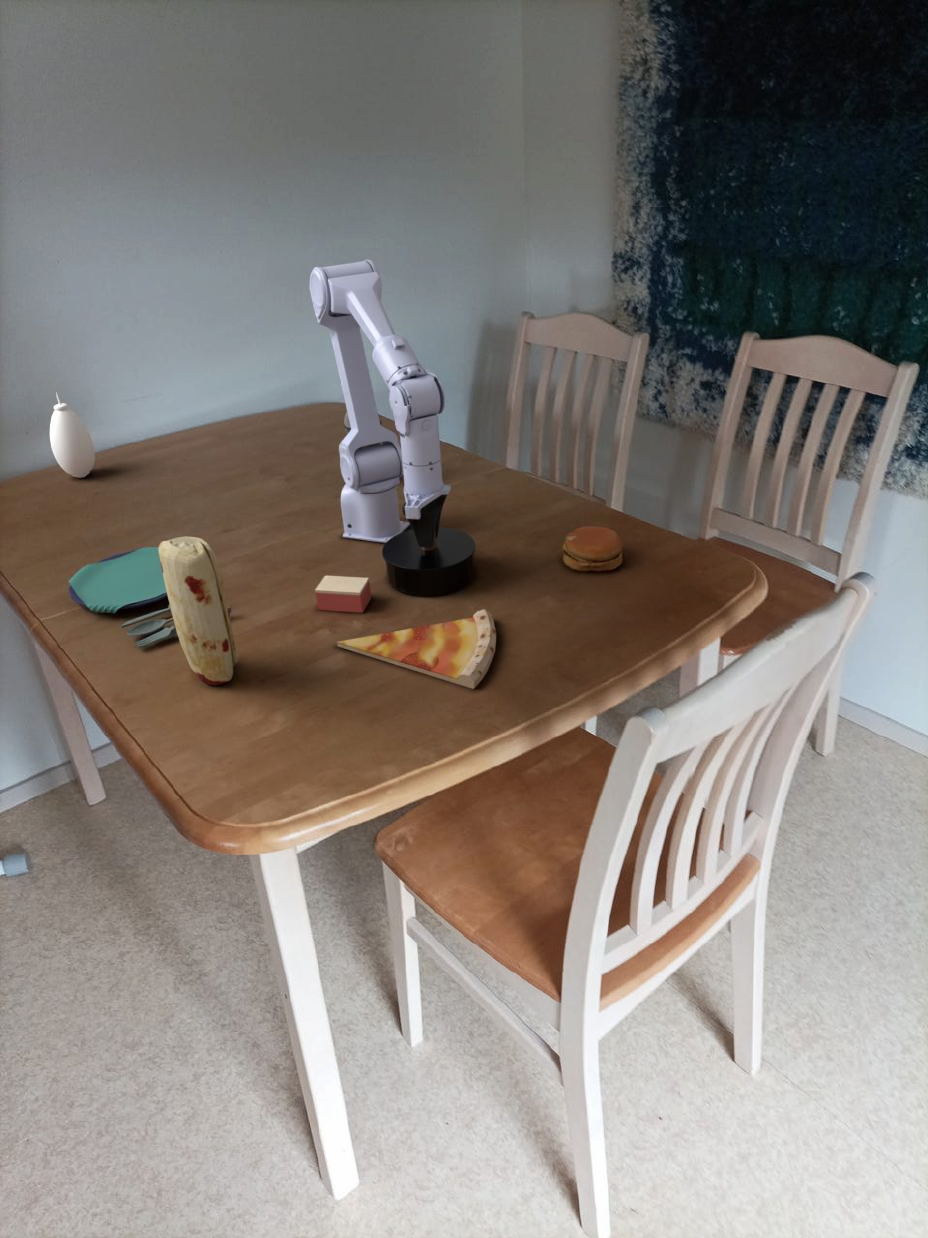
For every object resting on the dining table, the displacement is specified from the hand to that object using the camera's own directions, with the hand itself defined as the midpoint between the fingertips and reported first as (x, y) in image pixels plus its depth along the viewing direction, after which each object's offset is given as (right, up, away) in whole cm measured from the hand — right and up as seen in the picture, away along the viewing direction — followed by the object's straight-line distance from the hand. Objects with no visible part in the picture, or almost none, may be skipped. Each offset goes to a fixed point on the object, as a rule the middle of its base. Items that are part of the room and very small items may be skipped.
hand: (428, 542), depth 136 cm
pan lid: (0, -1, +1) cm, 1 cm away
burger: (+26, -3, +5) cm, 27 cm away
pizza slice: (+1, -15, -13) cm, 20 cm away
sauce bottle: (-75, +18, +48) cm, 91 cm away
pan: (0, -5, +3) cm, 6 cm away
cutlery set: (-44, -9, +1) cm, 45 cm away
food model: (-28, -20, -18) cm, 38 cm away
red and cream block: (-12, -10, -3) cm, 16 cm away
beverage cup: (-13, +16, +39) cm, 44 cm away
